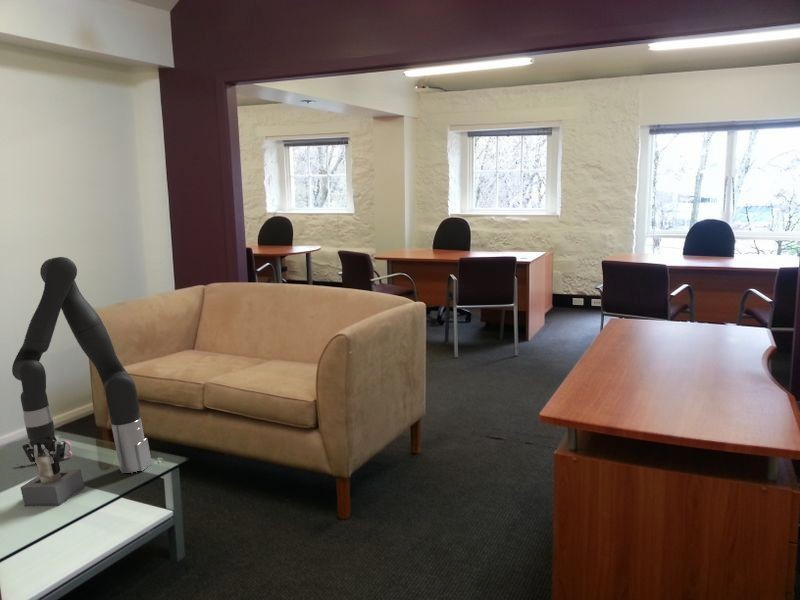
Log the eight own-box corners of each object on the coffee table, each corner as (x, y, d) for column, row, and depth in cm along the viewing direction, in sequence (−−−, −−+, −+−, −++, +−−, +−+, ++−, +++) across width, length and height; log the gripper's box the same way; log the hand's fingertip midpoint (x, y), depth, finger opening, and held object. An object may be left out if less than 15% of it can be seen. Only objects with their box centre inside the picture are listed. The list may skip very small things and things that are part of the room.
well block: (84, 487, 206) (80, 468, 205) (59, 505, 194) (55, 486, 193) (51, 487, 208) (47, 469, 207) (24, 506, 196) (20, 487, 195)
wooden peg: (63, 487, 202) (56, 451, 200) (54, 493, 198) (47, 457, 196) (52, 487, 203) (44, 452, 201) (43, 493, 199) (35, 457, 197)
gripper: (67, 416, 199) (78, 467, 202) (27, 418, 202) (38, 468, 205) (50, 425, 192) (62, 478, 195) (9, 427, 194) (21, 479, 197)
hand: (49, 473), depth 200 cm, fingers closed on wooden peg, 4 cm apart
